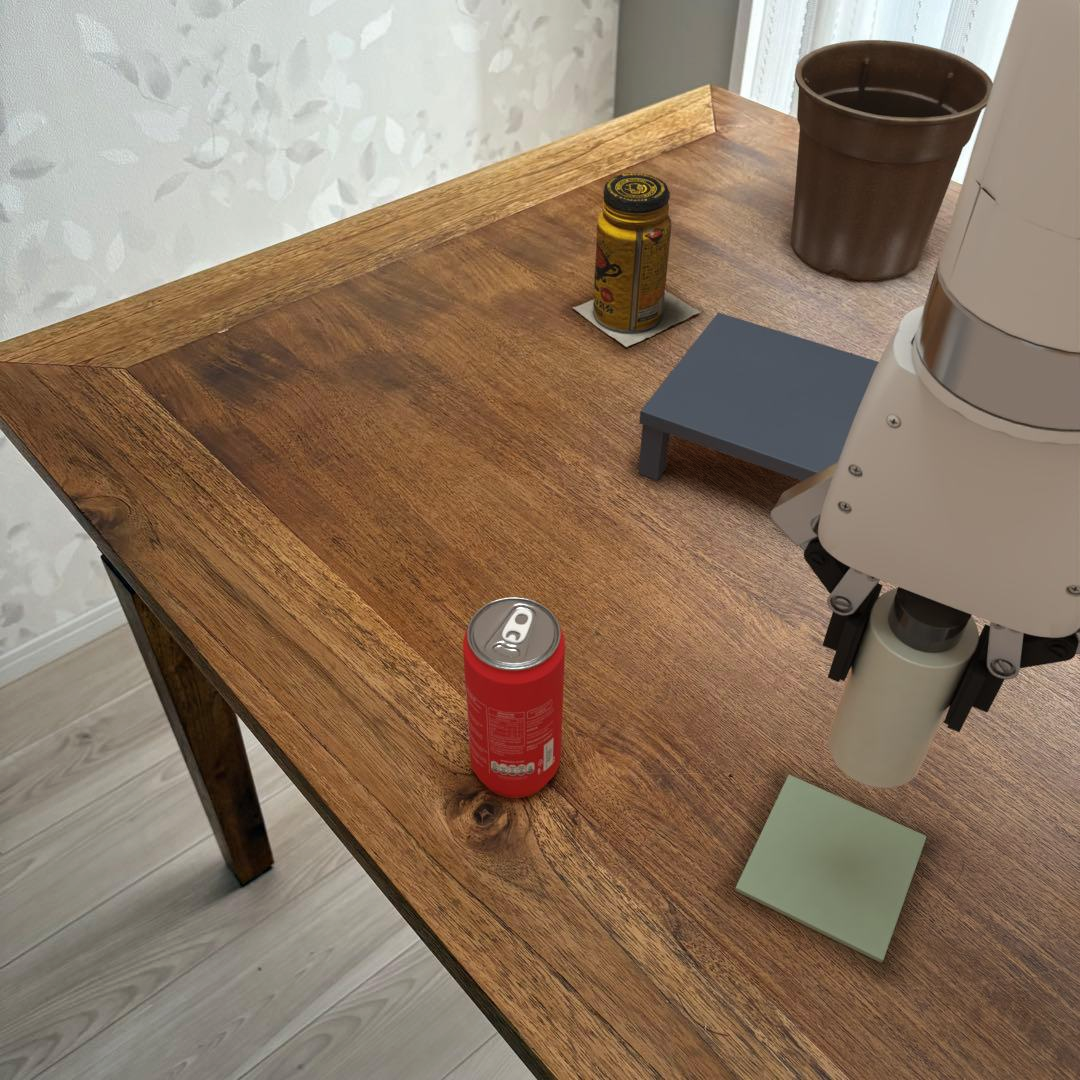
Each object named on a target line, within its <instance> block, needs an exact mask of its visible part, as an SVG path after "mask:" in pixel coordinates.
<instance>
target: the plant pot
mask: <svg viewBox="0 0 1080 1080" xmlns="http://www.w3.org/2000/svg"><path fill="white" fill-rule="evenodd" d="M794 79H795V83H796V85H797V87H798V94H797V95H798V96H797V111H796V112H797V113H796V120H797V122H798V125H799V132H798V133H799V134H798V146H797V158H796V159H797V160H796V170H795V171H796V172H795V185H794V198H793V211H792V222H791V231H790V243H791V246H792V248H793V250H794V251H795V253H796V254H797V256H798V257H800V259H801V260H803V261H804V262H805V263H807V264H808V265H810V266H811V267H813V268H815V269H816V270H818V271H821V272H824V273H826V274H830V273H833V272H838V273H841V274H844V275H845V276H846V277H847V278H849V279H852V280H859V281H860V280H862V281H876V280H885V279H890V278H894V277H898V276H901V275H904V274H906V273H908V272H910V271H911V270H913V269H914V268H915V267H917V266H918V264H919V262H920V260H921V259H922V257H923V255H924V253H925V250H926V247H927V245H928V242H929V239H930V236H931V233H932V231H933V228H934V225H935V222H936V220H937V217H938V215H939V212H940V210H941V207H942V205H943V202H944V199H945V197H946V194H947V190H948V188H949V186H950V183H951V180H952V177H953V175H954V173H955V170H956V168H957V166H958V162H959V160H960V157H961V155H962V152H963V149H964V147H965V146H966V145H967V144H968V143H969V141H971V138H972V136H973V133H974V130H975V128H976V126H977V123H978V120H979V118H980V116H981V113H982V111H983V110H985V108H986V105H987V102H988V99H989V95H990V92H991V89H992V86H993V82H994V81H992V78H991V77H990V76H989V74H988V73H987V72H985V70H983V69H982V68H980V67H978V66H977V64H975V63H973V62H972V61H970V60H968V59H966V58H964V57H962V56H960V55H958V54H955V53H952V52H950V51H947V50H944V49H940V48H937V47H933V46H928V45H924V44H919V43H913V42H905V41H897V40H885V39H859V40H858V39H857V40H850V41H849V40H848V41H841V42H837V43H832V44H829V45H825V46H821V47H819V48H817V49H814V50H812V51H810V52H808V53H806V54H805V55H803V57H801V58H800V59H799V60H798V62H797V64H796V66H795V70H794Z"/></svg>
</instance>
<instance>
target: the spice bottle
mask: <svg viewBox="0 0 1080 1080" xmlns="http://www.w3.org/2000/svg"><path fill="white" fill-rule="evenodd" d="M979 633H980V632H979V627H978V625H977V622H976V621H975V619H974V618H973V615H971V614H969V613H966V612H963V611H961V610H958V609H955V608H953V607H950V606H947V605H945V604H942V603H939V602H937V601H934V600H931V599H929V598H926V597H924V596H921V595H918V594H916V593H913V592H911V591H908V590H905V589H903V588H900V587H898V586H897V587H895V588H892V589H889V590H887V591H885V592H884V593H882V594H881V595H879V598H878V599H877V600H876V601H875V603H874V605H873V607H872V609H871V611H870V614H869V617H868V620H867V623H866V626H865V628H864V631H863V634H862V637H861V640H860V643H859V646H858V649H857V651H856V654H855V657H854V660H853V663H852V666H851V668H850V670H849V672H848V675H847V677H846V679H845V683H844V685H843V688H842V692H841V694H840V697H839V700H838V703H837V705H836V708H835V711H834V714H833V717H832V719H831V723H830V726H829V728H828V732H827V737H826V738H827V739H826V740H827V741H826V742H827V748H828V751H829V754H830V756H831V758H832V760H833V762H834V763H835V764H836V766H837V767H838V768H839V769H840V770H841V772H843V773H844V775H846V776H848V777H849V778H850V779H852V780H853V781H856V782H857V783H860V784H861V785H865V786H867V787H870V788H877V789H893V788H898V787H900V786H903V785H905V784H907V783H909V782H911V781H912V780H913V779H914V778H916V777H917V775H918V774H919V772H920V770H921V768H922V766H923V764H924V762H925V760H926V758H927V755H928V753H929V751H930V749H931V747H932V744H933V743H934V741H935V739H936V736H937V734H938V732H939V730H940V728H941V726H942V723H944V720H945V718H946V715H947V712H948V709H949V707H950V704H951V702H952V700H953V698H954V696H955V694H956V692H957V690H958V687H959V685H960V683H961V681H962V679H963V677H964V675H965V673H966V670H967V668H968V666H969V664H970V662H971V660H972V658H973V655H974V653H975V651H976V648H977V646H978V643H979V636H980V634H979Z"/></svg>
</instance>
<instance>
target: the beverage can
mask: <svg viewBox="0 0 1080 1080" xmlns="http://www.w3.org/2000/svg"><path fill="white" fill-rule="evenodd" d="M462 654H463V655H462V656H463V670H464V685H465V686H464V687H465V698H466V699H465V700H466V701H465V702H466V716H467V733H468V747H469V748H468V749H469V760H470V765H471V768H472V771H473V772H474V775H476V777H477V778H478V779H479V781H480V782H482V784H483V785H484V786H485V787H486V788H487V789H488V790H489V791H491V792H492V793H494V794H496V795H498V796H499V797H503V798H507V799H523V798H527V797H531V796H533V795H535V794H536V793H538V792H540V791H541V790H542V789H544V788H545V787H546V786H547V785H548V783H549V782H550V780H552V778H554V776H555V774H556V773H557V771H558V769H559V767H560V763H561V758H562V757H561V756H562V736H563V735H562V734H563V713H564V712H563V709H564V683H565V660H566V637H565V635H564V632H563V630H562V628H561V625H560V623H559V621H558V618H557V617H556V615H555V614H554V613H553V611H551V609H549V607H547V606H545V605H544V604H543V603H541V602H539V601H536V600H533V599H531V598H526V597H519V596H518V597H514V596H511V597H503V598H498V599H495V600H492V601H490V602H487V603H486V604H484V605H483V606H481V607H480V608H479V609H478V610H476V612H475V613H474V614H473V616H472V617H471V618H470V620H469V623H468V625H467V629H466V630H465V632H464V635H463V640H462Z"/></svg>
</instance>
